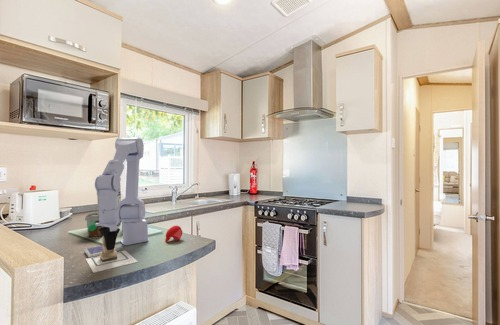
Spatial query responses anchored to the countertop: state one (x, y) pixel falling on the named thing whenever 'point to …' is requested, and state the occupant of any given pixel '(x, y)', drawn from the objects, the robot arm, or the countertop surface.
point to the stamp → (107, 253)
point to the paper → (110, 262)
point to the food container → (93, 225)
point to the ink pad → (94, 251)
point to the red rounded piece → (174, 233)
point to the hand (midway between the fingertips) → (109, 248)
